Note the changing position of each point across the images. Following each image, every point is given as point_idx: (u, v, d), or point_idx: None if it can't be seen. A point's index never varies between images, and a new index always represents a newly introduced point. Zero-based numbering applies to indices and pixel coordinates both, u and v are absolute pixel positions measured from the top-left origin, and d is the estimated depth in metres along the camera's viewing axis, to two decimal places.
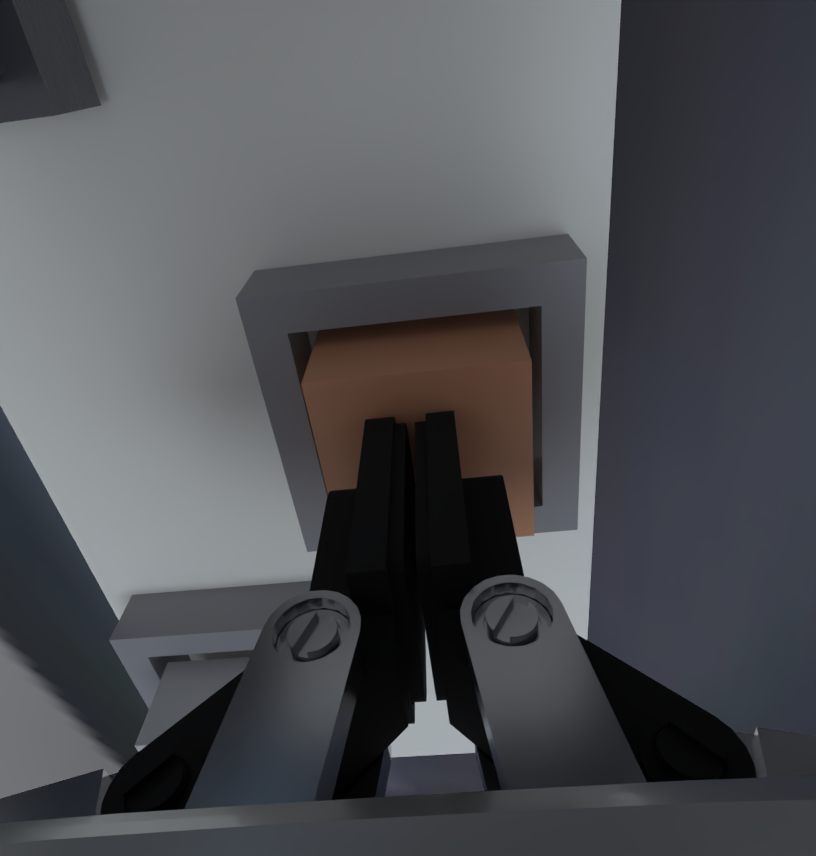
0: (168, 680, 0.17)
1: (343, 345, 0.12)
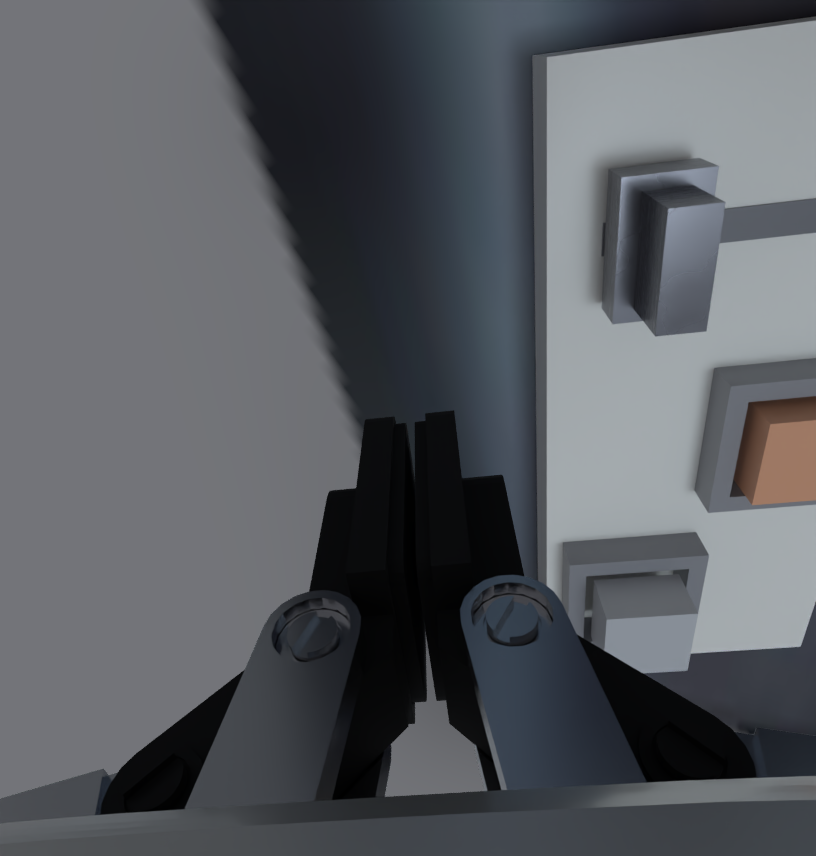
0: (601, 589, 0.29)
1: (768, 403, 0.25)
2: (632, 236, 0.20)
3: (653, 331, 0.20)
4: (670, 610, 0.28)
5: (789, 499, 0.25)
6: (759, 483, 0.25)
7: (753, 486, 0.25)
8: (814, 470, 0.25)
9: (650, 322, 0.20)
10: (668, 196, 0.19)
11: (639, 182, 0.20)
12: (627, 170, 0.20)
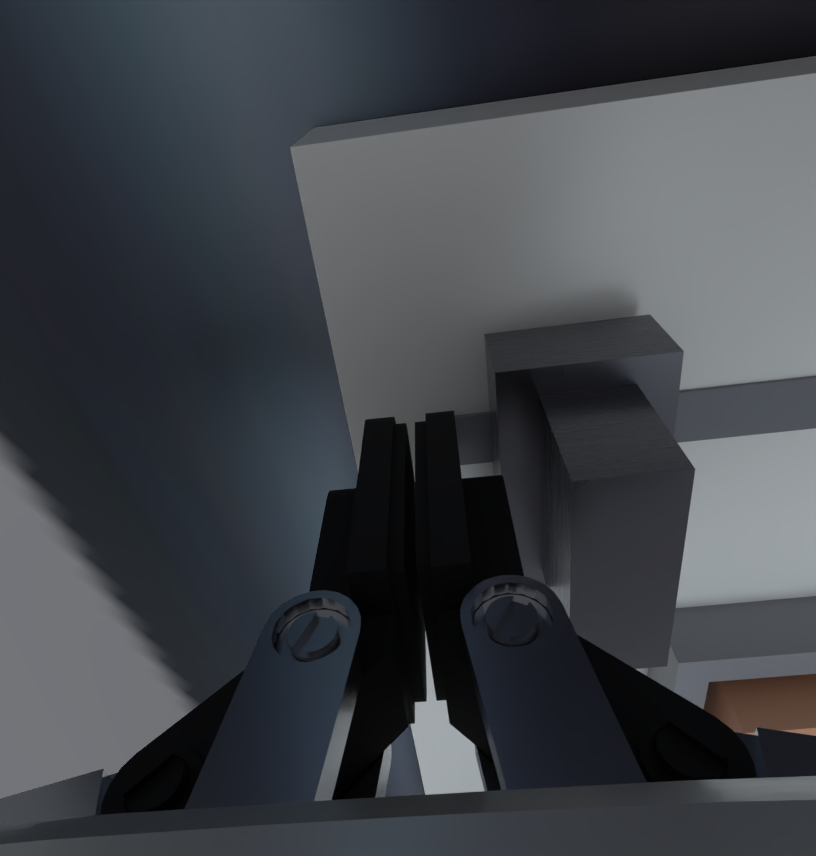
0: None
1: None
2: (527, 465, 0.11)
3: None
4: None
5: None
6: None
7: None
8: None
9: None
10: (582, 422, 0.09)
11: (529, 380, 0.10)
12: (514, 345, 0.11)
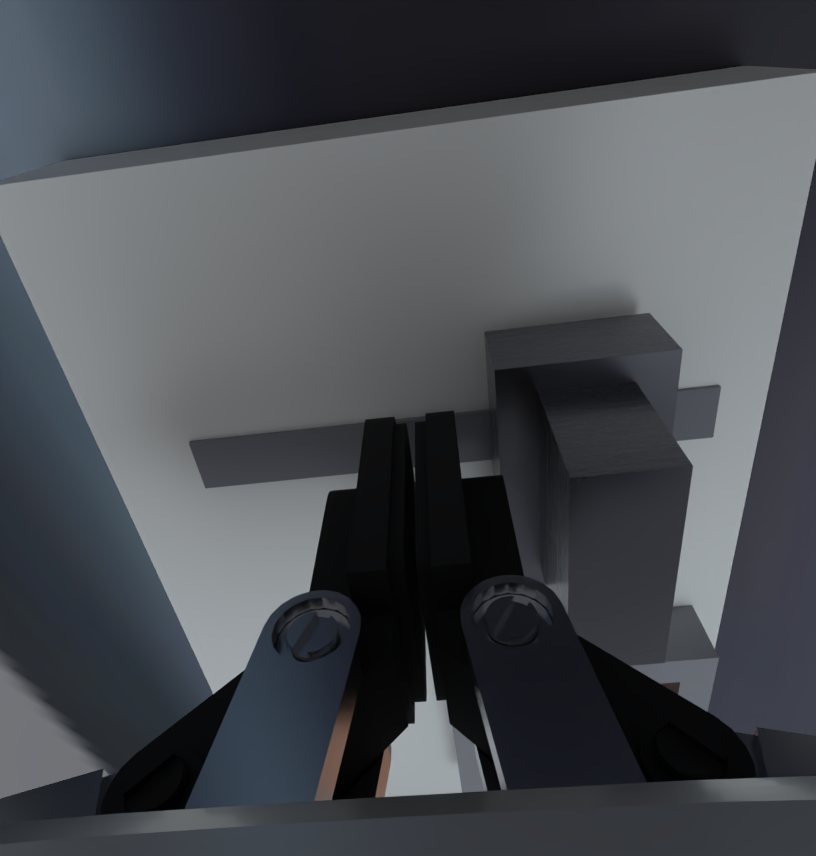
0: None
1: None
2: (526, 462, 0.11)
3: None
4: None
5: None
6: None
7: None
8: None
9: None
10: (581, 420, 0.09)
11: (529, 377, 0.10)
12: (514, 342, 0.11)
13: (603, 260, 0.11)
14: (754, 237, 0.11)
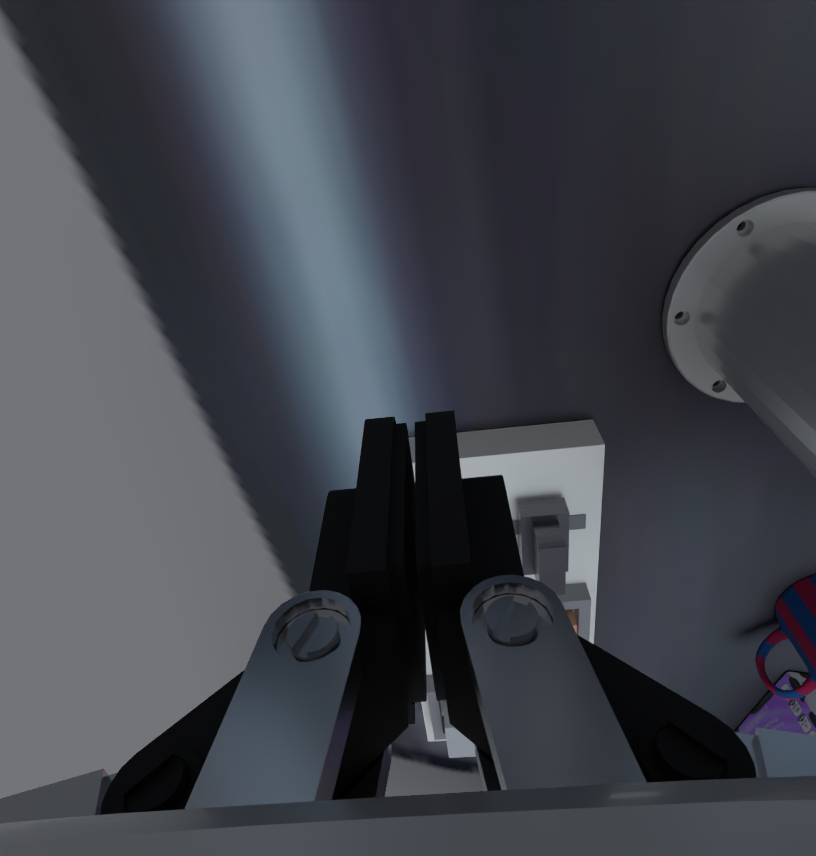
0: (446, 706, 0.48)
1: None
2: (529, 539, 0.39)
3: None
4: None
5: None
6: None
7: None
8: None
9: None
10: (542, 532, 0.38)
11: (530, 519, 0.38)
12: (525, 507, 0.39)
13: (548, 482, 0.39)
14: (590, 478, 0.39)
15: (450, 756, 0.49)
